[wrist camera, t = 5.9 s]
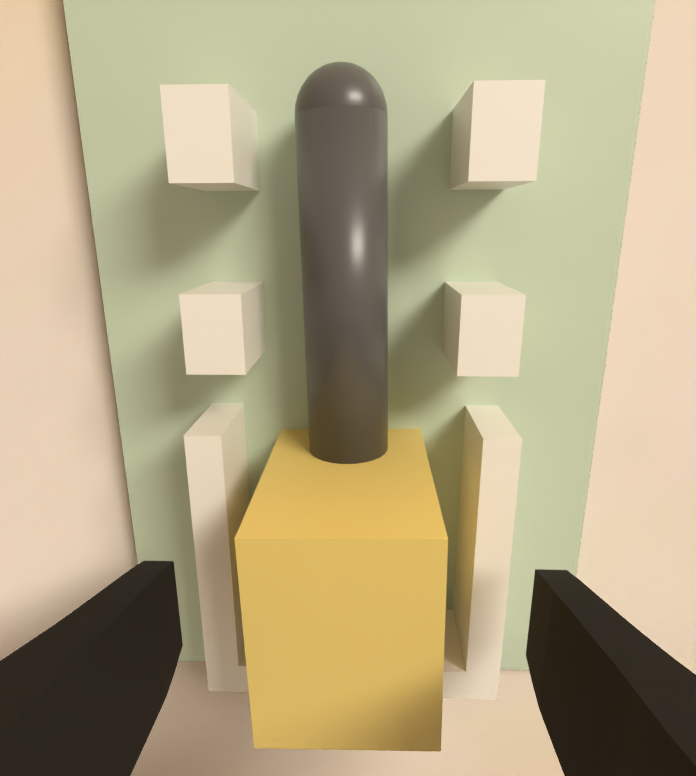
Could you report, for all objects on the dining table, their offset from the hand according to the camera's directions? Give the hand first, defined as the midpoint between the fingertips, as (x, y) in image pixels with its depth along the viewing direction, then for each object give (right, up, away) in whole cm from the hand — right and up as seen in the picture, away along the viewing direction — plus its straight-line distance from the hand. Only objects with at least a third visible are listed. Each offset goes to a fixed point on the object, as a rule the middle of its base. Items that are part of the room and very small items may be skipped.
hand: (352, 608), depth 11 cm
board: (0, +6, +3) cm, 7 cm away
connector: (0, +5, +2) cm, 5 cm away
